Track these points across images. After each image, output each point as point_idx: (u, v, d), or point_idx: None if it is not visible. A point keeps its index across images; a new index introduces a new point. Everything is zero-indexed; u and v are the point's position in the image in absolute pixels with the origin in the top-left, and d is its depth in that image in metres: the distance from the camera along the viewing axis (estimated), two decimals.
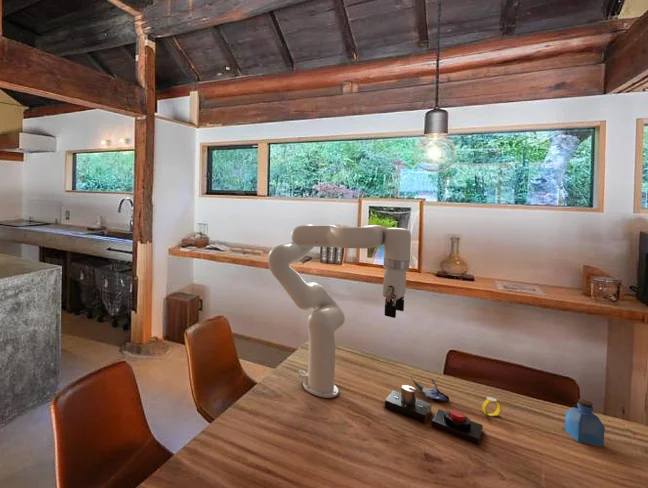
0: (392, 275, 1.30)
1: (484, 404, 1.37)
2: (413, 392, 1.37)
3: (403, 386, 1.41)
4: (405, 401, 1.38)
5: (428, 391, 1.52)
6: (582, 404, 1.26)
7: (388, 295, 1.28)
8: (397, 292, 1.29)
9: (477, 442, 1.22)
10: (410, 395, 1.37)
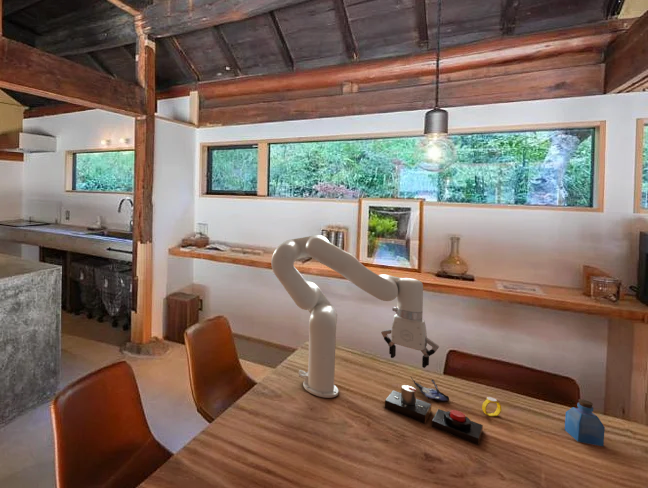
0: (425, 326, 1.34)
1: (484, 404, 1.37)
2: (413, 392, 1.37)
3: (403, 386, 1.41)
4: (405, 401, 1.38)
5: (428, 391, 1.52)
6: (582, 404, 1.26)
7: (438, 347, 1.32)
8: None
9: (477, 442, 1.22)
10: (410, 395, 1.37)
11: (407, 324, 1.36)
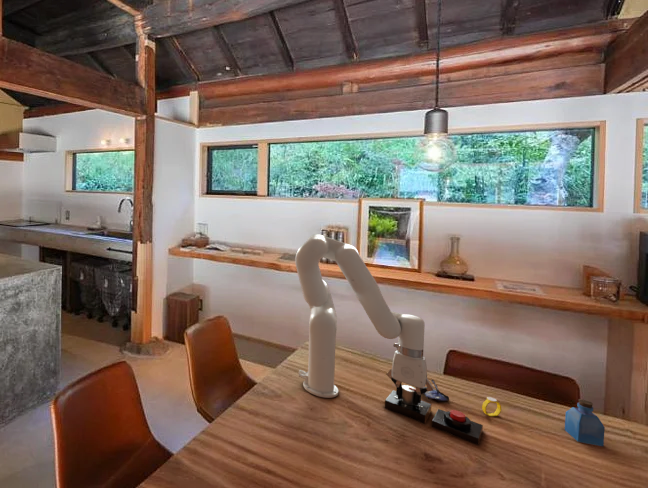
0: (425, 364, 1.36)
1: (484, 404, 1.37)
2: (413, 392, 1.37)
3: (403, 386, 1.41)
4: (405, 401, 1.38)
5: (428, 391, 1.52)
6: (582, 404, 1.26)
7: None
8: None
9: (477, 442, 1.22)
10: (410, 395, 1.37)
11: (409, 361, 1.37)
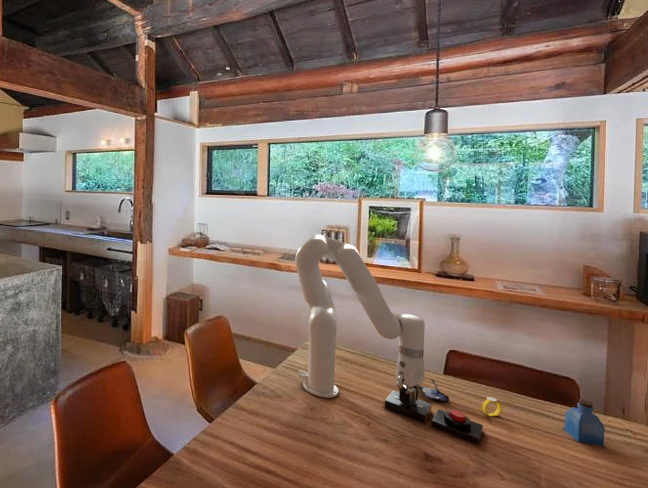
0: None
1: (484, 404, 1.37)
2: None
3: None
4: (414, 403, 1.38)
5: (428, 391, 1.52)
6: (582, 404, 1.26)
7: None
8: None
9: (477, 442, 1.22)
10: None
11: (419, 362, 1.37)
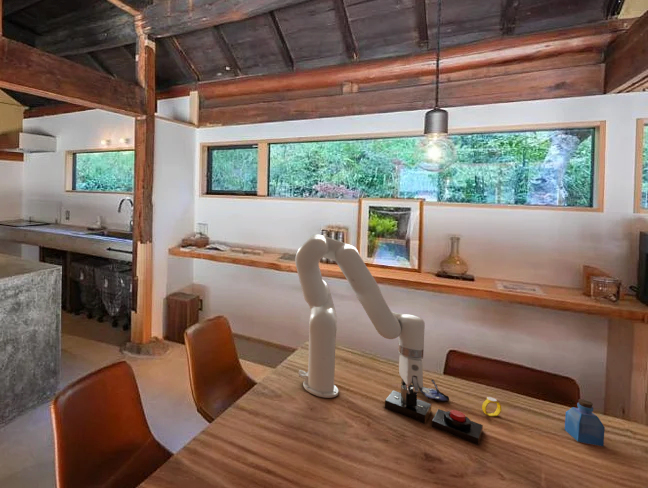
0: None
1: (484, 404, 1.37)
2: None
3: None
4: None
5: (428, 391, 1.52)
6: (582, 404, 1.26)
7: None
8: None
9: (477, 442, 1.22)
10: None
11: None
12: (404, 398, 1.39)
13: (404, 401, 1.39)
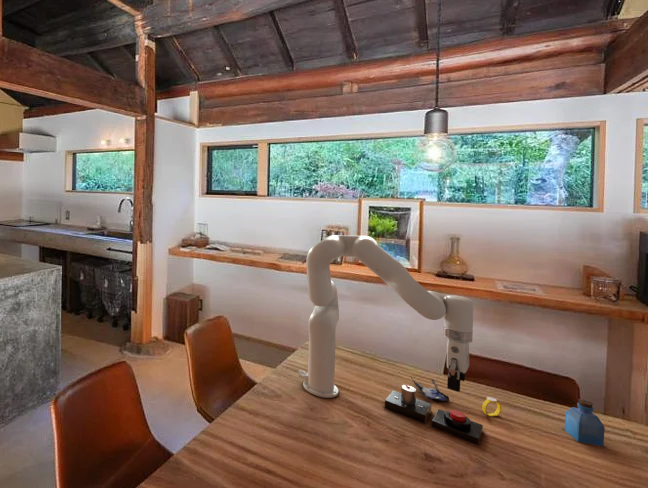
0: None
1: (484, 404, 1.37)
2: None
3: (410, 390, 1.38)
4: None
5: (428, 391, 1.52)
6: (582, 404, 1.26)
7: None
8: None
9: (477, 442, 1.22)
10: None
11: (468, 345, 1.28)
12: (404, 398, 1.39)
13: (404, 401, 1.39)
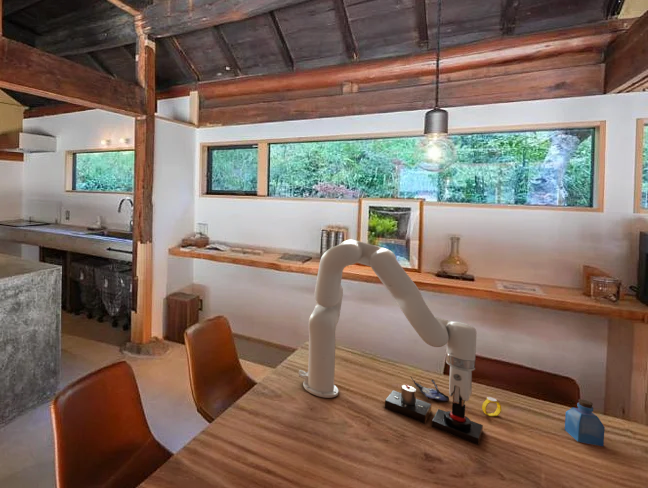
0: None
1: (484, 404, 1.37)
2: None
3: (410, 390, 1.38)
4: None
5: (428, 391, 1.52)
6: (582, 404, 1.26)
7: None
8: None
9: (477, 442, 1.22)
10: None
11: (471, 372, 1.27)
12: (404, 398, 1.39)
13: (404, 401, 1.39)
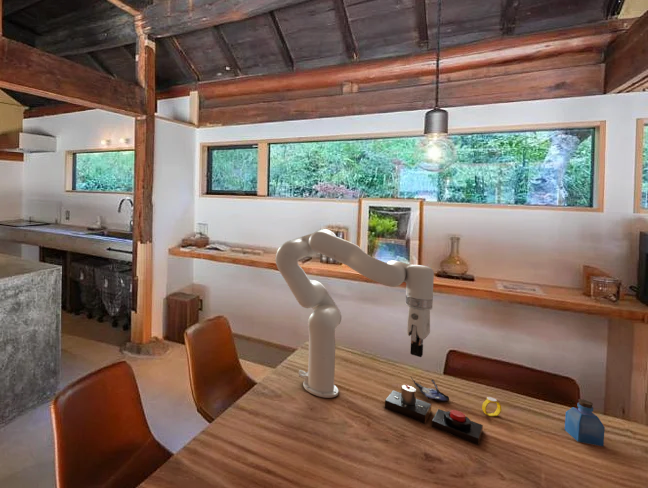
0: None
1: (484, 404, 1.37)
2: None
3: (410, 390, 1.38)
4: None
5: (428, 391, 1.52)
6: (582, 404, 1.26)
7: None
8: None
9: (477, 442, 1.22)
10: None
11: (428, 312, 1.30)
12: (404, 398, 1.39)
13: (404, 401, 1.39)
